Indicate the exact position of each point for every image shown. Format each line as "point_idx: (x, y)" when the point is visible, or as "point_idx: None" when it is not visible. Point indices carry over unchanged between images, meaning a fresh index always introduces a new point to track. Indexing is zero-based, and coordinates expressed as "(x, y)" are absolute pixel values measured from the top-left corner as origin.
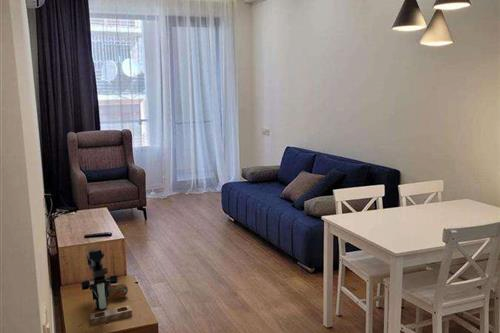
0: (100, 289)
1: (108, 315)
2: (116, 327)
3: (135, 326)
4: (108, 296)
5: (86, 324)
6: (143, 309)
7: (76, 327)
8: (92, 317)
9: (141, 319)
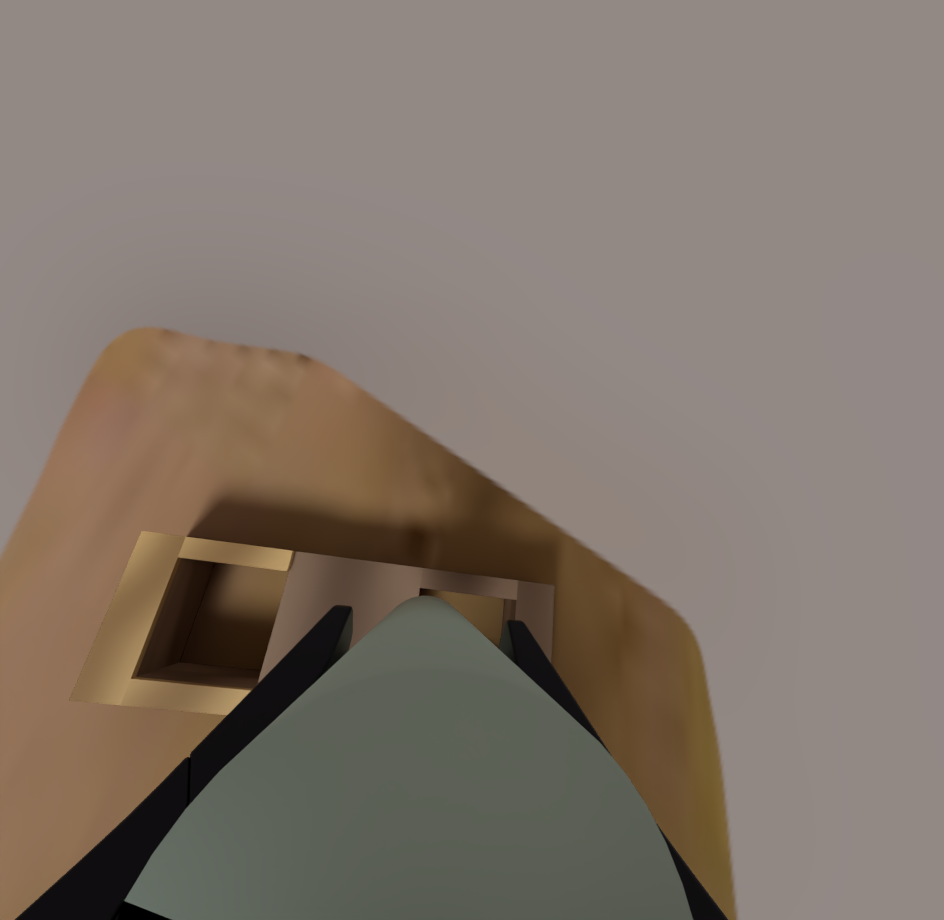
0: (464, 636)
1: (390, 565)
2: (378, 417)
3: (258, 349)
4: None
5: (574, 617)
6: (10, 617)
7: (649, 609)
8: (536, 619)
9: (160, 422)
